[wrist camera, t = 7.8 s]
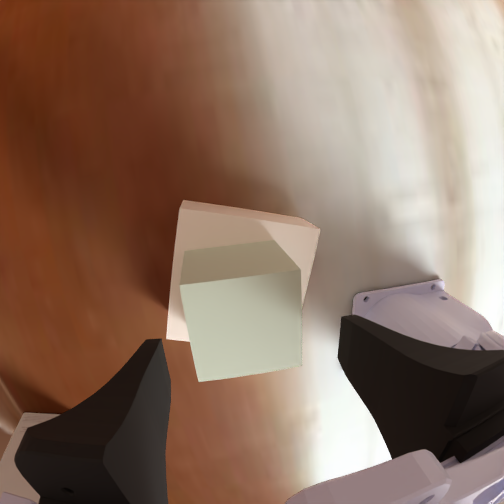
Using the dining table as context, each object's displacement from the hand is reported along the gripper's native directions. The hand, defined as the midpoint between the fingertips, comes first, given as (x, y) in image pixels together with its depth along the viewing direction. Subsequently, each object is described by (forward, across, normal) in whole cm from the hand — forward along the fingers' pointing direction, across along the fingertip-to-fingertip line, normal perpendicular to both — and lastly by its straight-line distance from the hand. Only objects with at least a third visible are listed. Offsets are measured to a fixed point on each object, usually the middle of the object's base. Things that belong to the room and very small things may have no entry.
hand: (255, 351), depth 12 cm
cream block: (+11, 0, 0) cm, 11 cm away
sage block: (+7, 0, 0) cm, 7 cm away
